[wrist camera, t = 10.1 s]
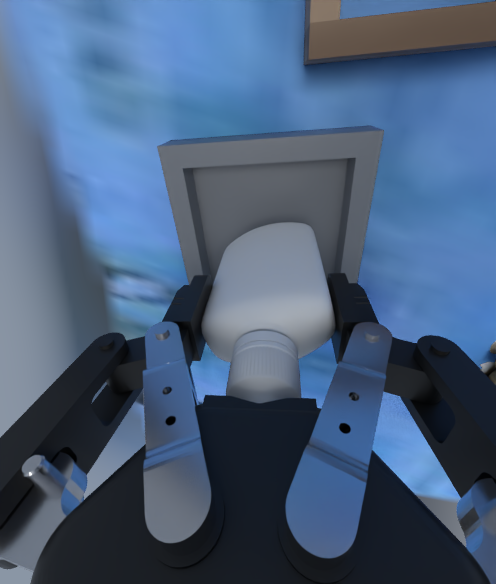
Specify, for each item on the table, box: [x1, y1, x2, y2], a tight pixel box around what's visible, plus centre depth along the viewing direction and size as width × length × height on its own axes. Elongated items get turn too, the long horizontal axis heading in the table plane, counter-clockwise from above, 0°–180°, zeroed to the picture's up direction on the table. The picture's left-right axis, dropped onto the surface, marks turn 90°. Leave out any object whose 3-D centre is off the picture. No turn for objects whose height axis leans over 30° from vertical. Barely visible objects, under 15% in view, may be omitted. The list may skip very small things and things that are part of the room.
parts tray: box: [157, 126, 384, 286], centre depth 19 cm, size 12×12×2 cm
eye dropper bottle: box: [201, 222, 336, 403], centre depth 13 cm, size 4×6×12 cm
